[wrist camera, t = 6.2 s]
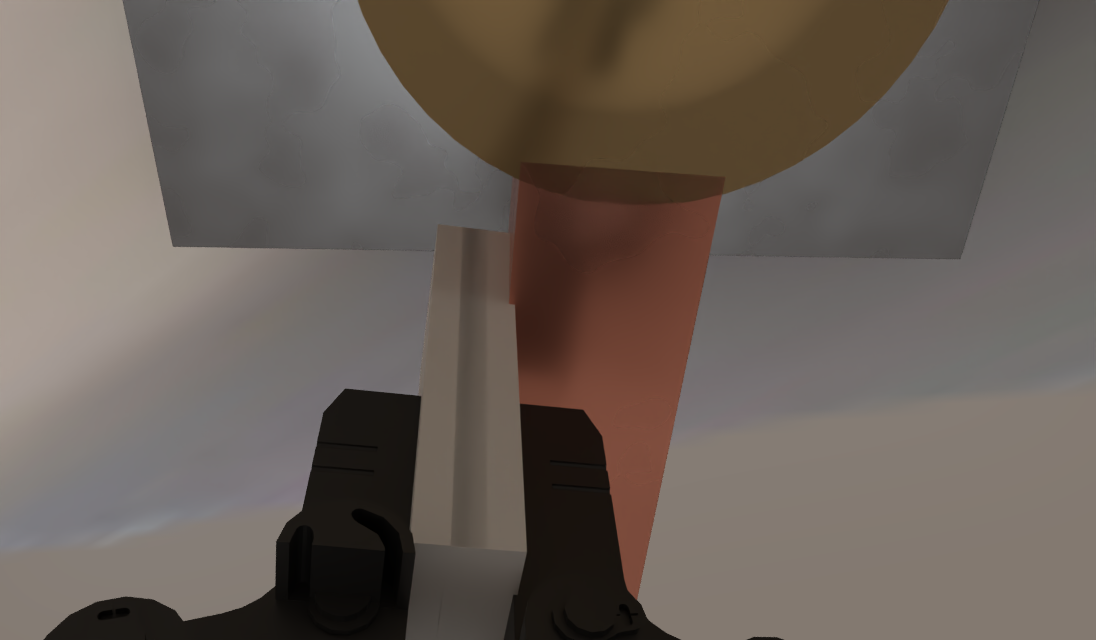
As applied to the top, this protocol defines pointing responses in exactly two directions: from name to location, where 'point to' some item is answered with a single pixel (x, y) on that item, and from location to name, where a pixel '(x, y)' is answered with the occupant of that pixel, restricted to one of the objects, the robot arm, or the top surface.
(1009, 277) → the top surface
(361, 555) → the robot arm
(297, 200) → the grey plate with post
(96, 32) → the top surface
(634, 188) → the scoop with pink handle
